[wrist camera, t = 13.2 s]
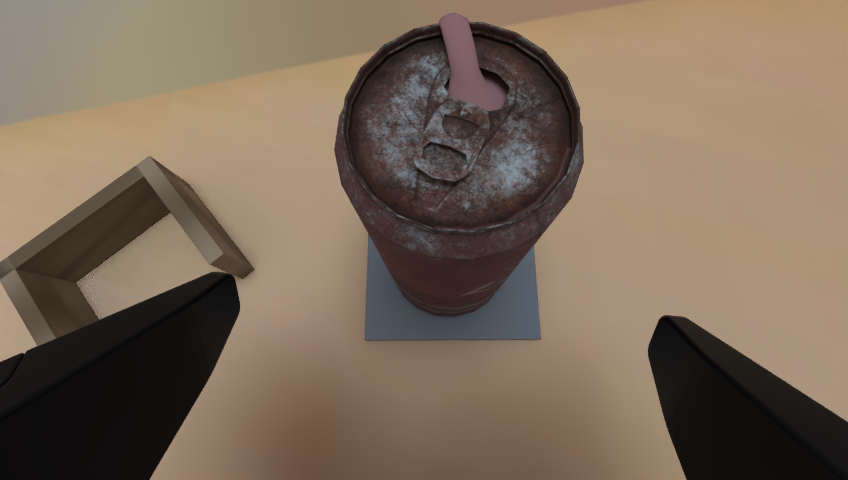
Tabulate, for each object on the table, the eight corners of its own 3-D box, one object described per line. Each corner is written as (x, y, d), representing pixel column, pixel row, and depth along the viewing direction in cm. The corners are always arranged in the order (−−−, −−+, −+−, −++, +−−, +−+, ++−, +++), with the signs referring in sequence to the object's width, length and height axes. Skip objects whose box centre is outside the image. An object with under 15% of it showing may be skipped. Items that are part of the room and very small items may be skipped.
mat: (539, 339, 22) (540, 338, 22) (365, 340, 22) (364, 339, 22) (527, 178, 24) (528, 176, 24) (371, 181, 25) (370, 179, 24)
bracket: (254, 269, 24) (223, 253, 20) (116, 379, 22) (58, 382, 19) (188, 183, 25) (149, 155, 22) (55, 281, 24) (-8, 267, 20)
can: (486, 192, 24) (546, -25, 11) (518, 303, 22) (639, 210, 9) (381, 216, 24) (305, 25, 10) (404, 329, 22) (349, 276, 9)
